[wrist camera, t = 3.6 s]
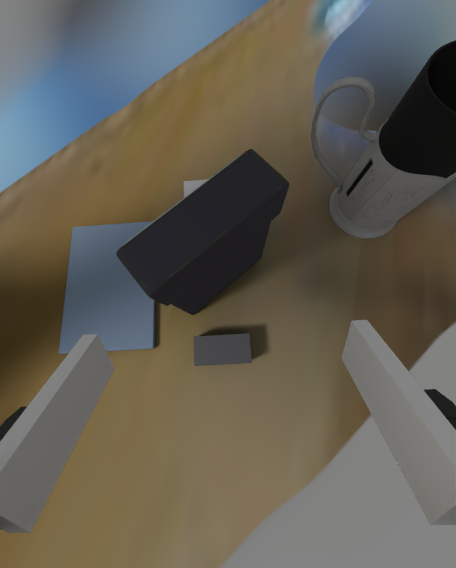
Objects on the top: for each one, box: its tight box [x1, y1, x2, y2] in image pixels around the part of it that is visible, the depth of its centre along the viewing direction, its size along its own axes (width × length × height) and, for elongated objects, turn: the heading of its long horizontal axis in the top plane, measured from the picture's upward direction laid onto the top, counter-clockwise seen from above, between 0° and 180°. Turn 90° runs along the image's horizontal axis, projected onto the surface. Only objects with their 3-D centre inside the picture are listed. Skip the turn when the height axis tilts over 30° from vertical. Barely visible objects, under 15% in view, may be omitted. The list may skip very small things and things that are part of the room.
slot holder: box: [184, 180, 252, 366], centre depth 26 cm, size 6×20×5 cm, turn 3°
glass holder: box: [311, 41, 456, 239], centre depth 22 cm, size 9×14×15 cm, turn 73°
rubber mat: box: [59, 221, 156, 354], centre depth 28 cm, size 11×16×1 cm
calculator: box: [116, 149, 289, 315], centre depth 21 cm, size 11×4×15 cm, turn 131°
